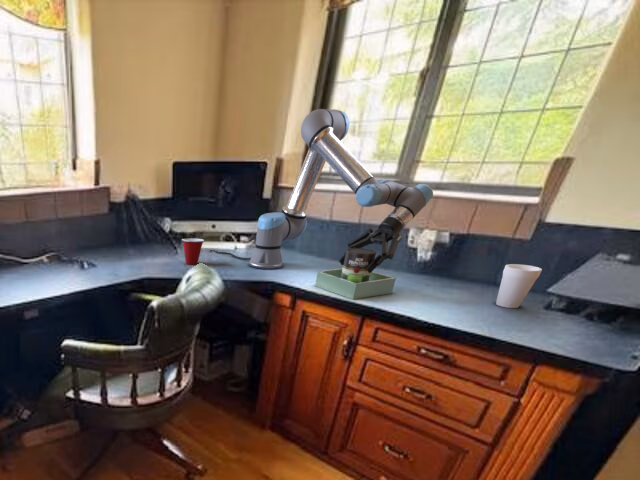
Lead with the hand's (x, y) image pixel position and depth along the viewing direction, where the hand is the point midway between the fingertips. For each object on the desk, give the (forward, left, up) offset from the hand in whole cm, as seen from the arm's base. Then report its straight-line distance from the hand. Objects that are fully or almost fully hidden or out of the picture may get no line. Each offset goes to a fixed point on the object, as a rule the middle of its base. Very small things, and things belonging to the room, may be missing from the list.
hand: (353, 266), depth 162 cm
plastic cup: (-66, -35, -9) cm, 75 cm away
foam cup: (+36, +35, -9) cm, 51 cm away
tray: (0, +2, -9) cm, 9 cm away
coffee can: (0, +2, -8) cm, 9 cm away
